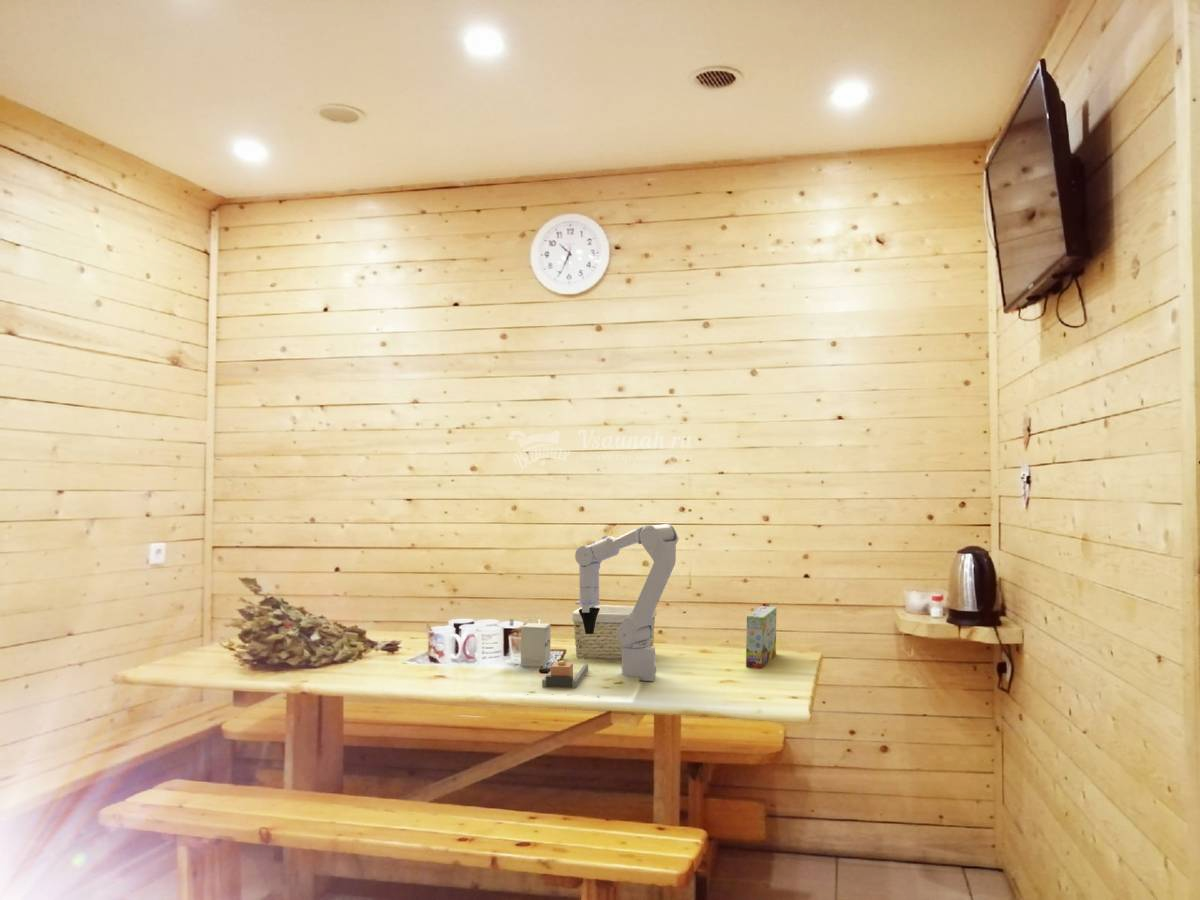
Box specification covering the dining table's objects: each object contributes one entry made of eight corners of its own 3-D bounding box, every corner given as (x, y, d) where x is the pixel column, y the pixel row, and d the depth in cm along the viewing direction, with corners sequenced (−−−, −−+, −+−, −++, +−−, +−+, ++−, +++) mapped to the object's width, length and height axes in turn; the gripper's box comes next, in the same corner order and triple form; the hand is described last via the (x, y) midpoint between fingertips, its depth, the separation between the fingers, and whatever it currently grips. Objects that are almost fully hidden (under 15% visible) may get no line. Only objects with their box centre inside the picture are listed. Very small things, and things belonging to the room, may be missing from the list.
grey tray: (593, 674, 242) (593, 660, 242) (581, 693, 222) (581, 677, 223) (551, 673, 244) (551, 659, 244) (536, 691, 224) (536, 676, 224)
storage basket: (570, 659, 262) (570, 611, 263) (585, 648, 278) (585, 603, 278) (646, 664, 256) (646, 614, 256) (657, 652, 271) (657, 606, 272)
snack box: (764, 669, 248) (763, 617, 249) (745, 667, 250) (744, 615, 251) (777, 654, 268) (777, 606, 268) (759, 653, 270) (759, 605, 270)
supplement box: (544, 671, 246) (544, 627, 247) (520, 670, 248) (519, 626, 248) (551, 665, 254) (551, 623, 254) (527, 664, 255) (527, 622, 255)
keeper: (572, 681, 229) (572, 659, 230) (569, 686, 225) (569, 663, 225) (554, 680, 230) (554, 659, 230) (550, 685, 225) (550, 663, 225)
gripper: (579, 583, 257) (580, 628, 256) (571, 590, 242) (571, 638, 242) (603, 583, 256) (603, 629, 255) (595, 590, 241) (596, 638, 241)
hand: (589, 633), depth 249 cm, fingers closed
